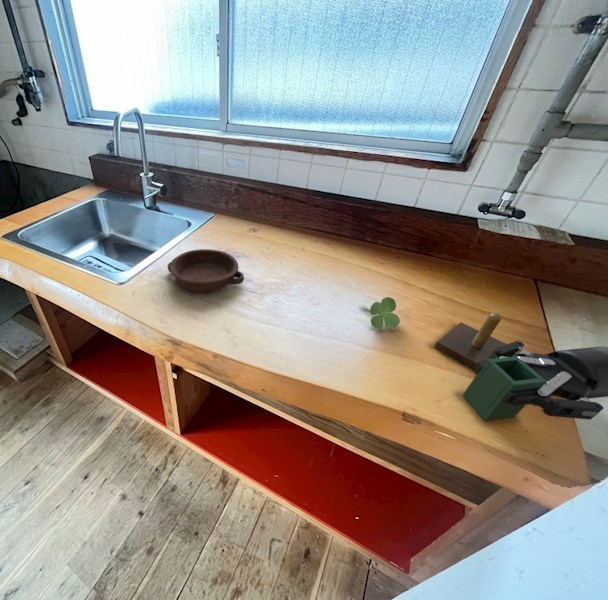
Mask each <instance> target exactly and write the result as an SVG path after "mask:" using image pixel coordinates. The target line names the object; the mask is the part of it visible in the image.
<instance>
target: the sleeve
mask: <svg viewBox="0 0 608 600" xmlns="http://www.w3.org/2000/svg"><path fill="white" fill-rule="evenodd" d="M546 382H547V381H546V380H545V379H543V378H542V377H541V376H540V375H539V374H538V373H536V372H535V371H534V370H533V369H532V368H530V367H529V366H528V365H527V364H526V363H524V362H523V361H522V360H521V359H520V358H519V357H517V356H516V357H506V358H496V359H487V360H486V362H485V363H484V365H483V366H482V368H481V369H480V371H479V372H478V374H476V375H475V376H474V378H473V379H472V381H470V384H469V385H468V386H467V388H466V389H465V391H464V392H463V394H462V395H461V396H462V397H463V398H464V400H466V402H467V403H468V404H469V405H470V406H471V407H472V408H473V409H474V410H475V412H476V413H477V414H478V415H479V416H480V417H481V419H482V420H483V421H484V422H488V421H489V422H490V421H497V420H507V419H514V418H516V416H518V415H519V413H520V412H521V411H522V410H523V409H524V408H525V407H526V405H520V406H515V405H512V404H506V403H505V402H504V401H503V400H502V398H503V397H504V396H505V394H506V393H507V392H509V391H517V390H526V389H533V390H534V391H536V390H537V389H539V388H541V387H543V385H544V384H545V383H546Z"/></svg>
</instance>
